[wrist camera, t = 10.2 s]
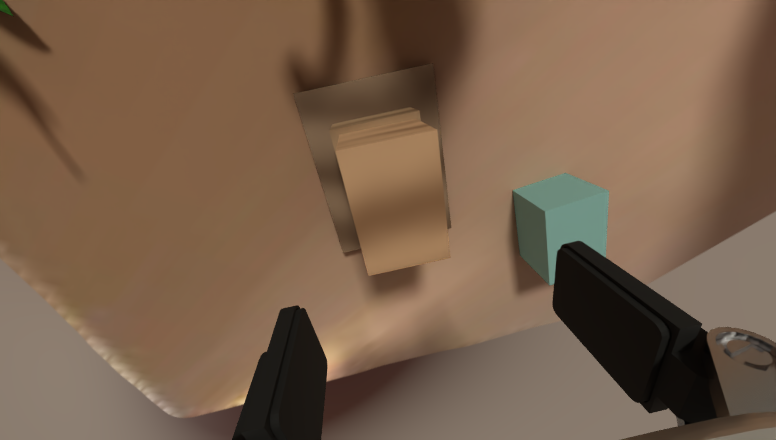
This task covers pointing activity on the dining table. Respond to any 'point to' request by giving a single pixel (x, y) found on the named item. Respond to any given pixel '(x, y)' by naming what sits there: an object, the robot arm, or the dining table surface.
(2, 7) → the flower
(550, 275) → the teal brick
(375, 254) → the tan block
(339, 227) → the pedestal board
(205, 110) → the dining table surface
